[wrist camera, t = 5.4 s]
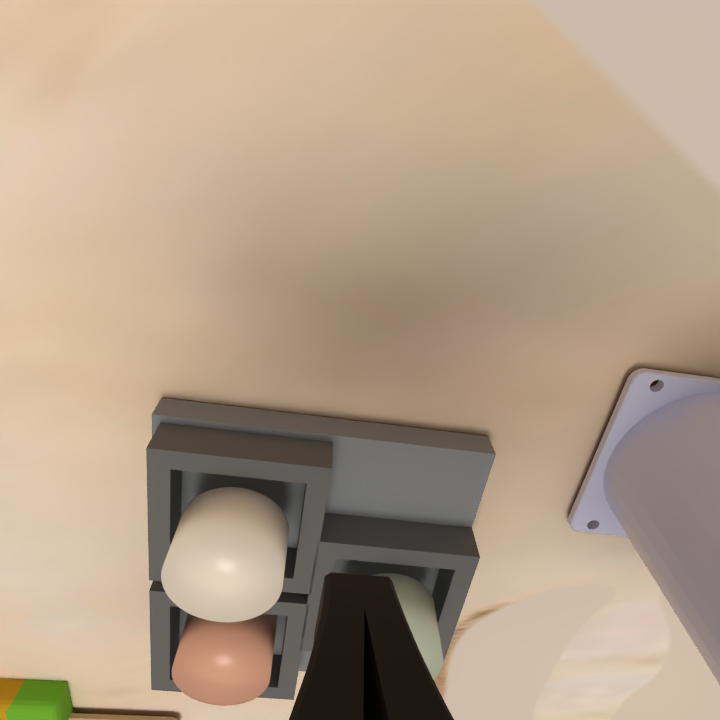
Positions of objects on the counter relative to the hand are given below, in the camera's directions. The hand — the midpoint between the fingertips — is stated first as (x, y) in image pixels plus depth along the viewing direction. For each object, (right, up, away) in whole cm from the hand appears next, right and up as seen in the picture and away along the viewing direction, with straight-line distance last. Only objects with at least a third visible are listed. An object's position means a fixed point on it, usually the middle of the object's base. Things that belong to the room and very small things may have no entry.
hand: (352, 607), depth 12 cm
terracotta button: (-6, -7, +13) cm, 16 cm away
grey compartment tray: (-2, -3, +13) cm, 14 cm away
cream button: (-4, -1, +9) cm, 10 cm away
